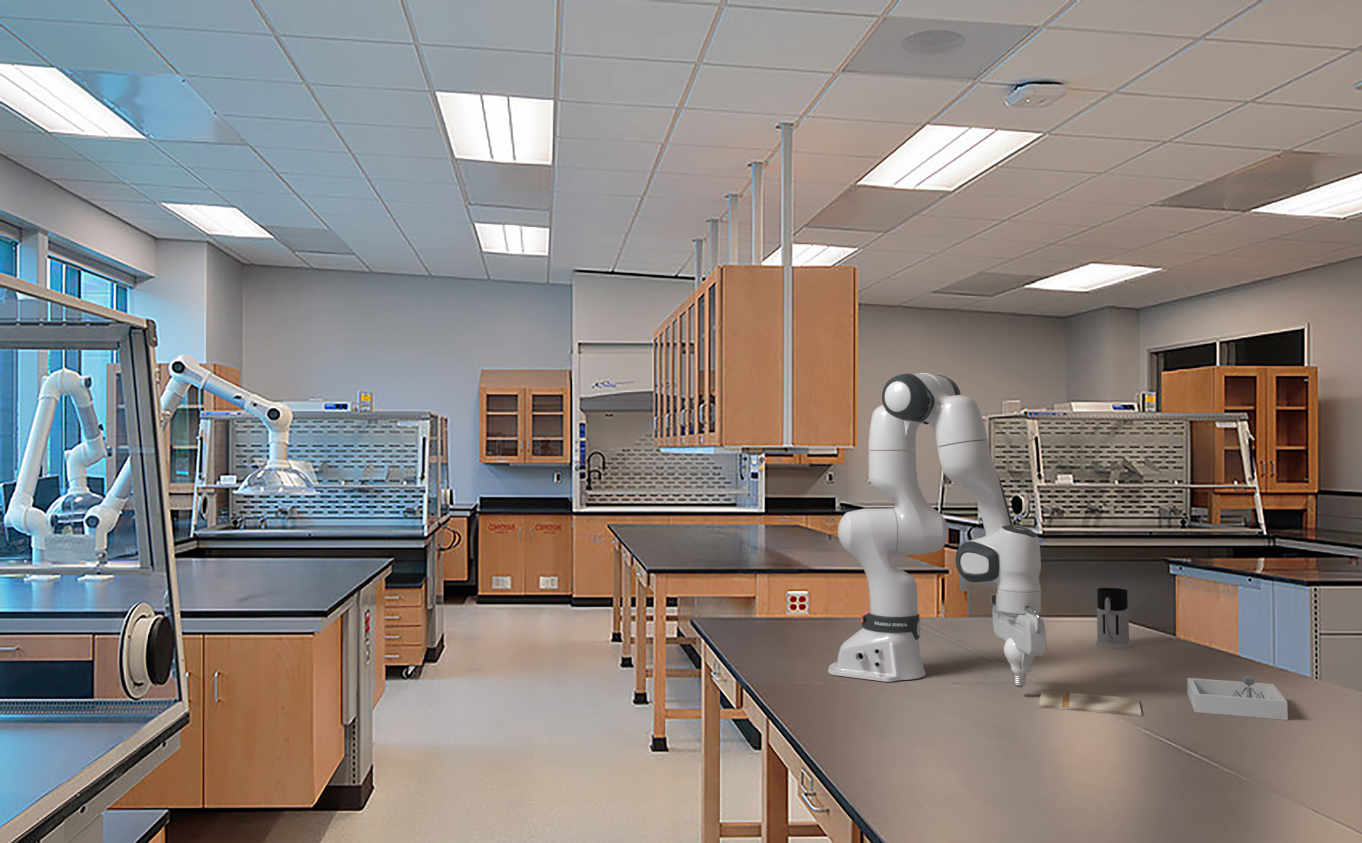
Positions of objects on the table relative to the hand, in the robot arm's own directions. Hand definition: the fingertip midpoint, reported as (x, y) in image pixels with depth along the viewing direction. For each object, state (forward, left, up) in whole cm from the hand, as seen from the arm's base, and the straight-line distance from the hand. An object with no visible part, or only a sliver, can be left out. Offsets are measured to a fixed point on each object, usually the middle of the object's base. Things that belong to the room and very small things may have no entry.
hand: (1019, 667), depth 211 cm
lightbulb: (0, 0, -4) cm, 4 cm away
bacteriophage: (+44, +8, -7) cm, 45 cm away
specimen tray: (+41, +7, -6) cm, 42 cm away
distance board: (+14, -1, -6) cm, 15 cm away
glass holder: (+19, +66, -6) cm, 69 cm away
